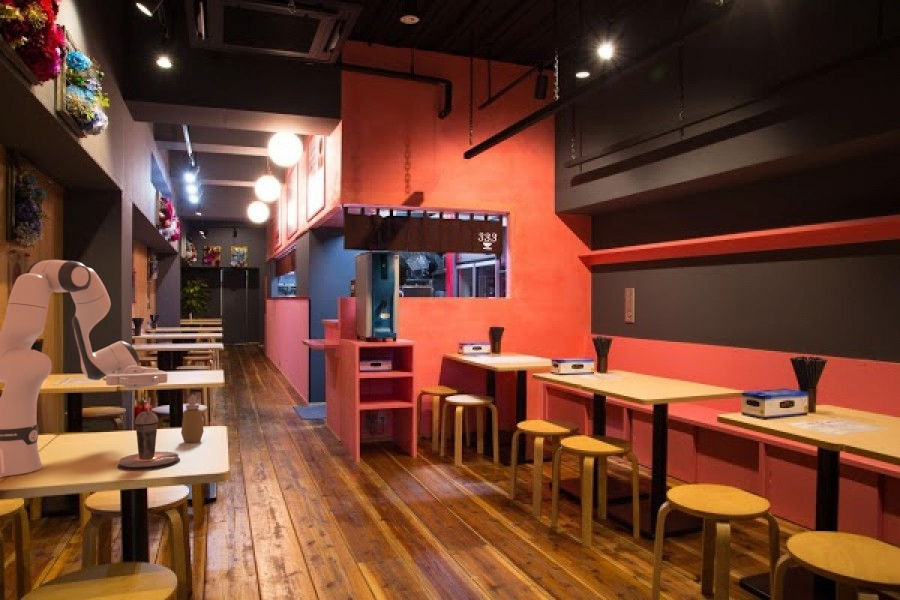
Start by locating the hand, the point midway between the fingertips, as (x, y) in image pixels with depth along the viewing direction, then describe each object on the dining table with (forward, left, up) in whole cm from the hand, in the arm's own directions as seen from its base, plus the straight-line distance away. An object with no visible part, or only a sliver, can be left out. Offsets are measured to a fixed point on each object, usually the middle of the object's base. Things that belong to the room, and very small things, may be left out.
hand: (141, 380), depth 225 cm
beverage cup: (+10, -14, -24) cm, 30 cm away
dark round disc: (+11, -14, -26) cm, 31 cm away
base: (+11, -14, -26) cm, 31 cm away
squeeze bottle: (+10, +19, -26) cm, 34 cm away
